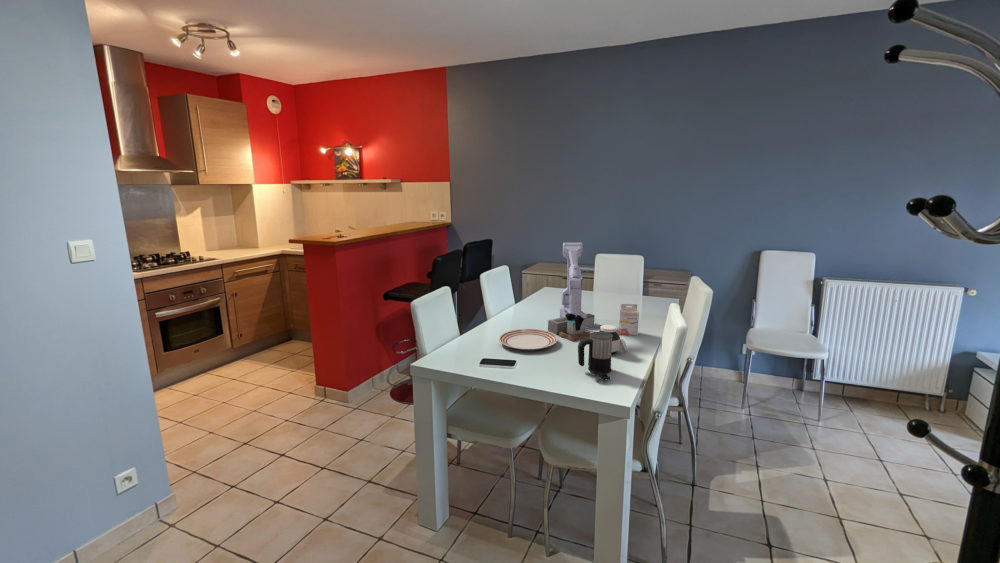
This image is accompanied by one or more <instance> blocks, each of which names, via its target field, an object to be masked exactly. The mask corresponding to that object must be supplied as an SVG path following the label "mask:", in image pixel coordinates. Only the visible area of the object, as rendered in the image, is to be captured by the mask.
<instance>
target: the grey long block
mask: <svg viewBox="0 0 1000 563" xmlns="http://www.w3.org/2000/svg"><path fill="white" fill-rule="evenodd" d="M567 321H568V320H567V318H566V317H562V318H560V317H558V318H554V319H553V318H552V319H548V320H547V323H548V324H547V331H548V332H551V333H553V334H554V335H556V336H559V332H561V331H566V330H567Z"/></svg>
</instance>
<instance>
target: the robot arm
mask: <svg viewBox="0 0 1000 563" xmlns="http://www.w3.org/2000/svg"><path fill="white" fill-rule="evenodd" d="M583 248H584V247H583V243H582V242H581V241H580V242H563V243H562V256H563V258H566V260H567V263H566V264H567V266H566V269H567V275H566V276H567V277H566V278H567V279H566V288H564V289H562V292H561V296H560V297H561V298H560V300H561V306H560V307H559V318H562V317H566V318H567V320H568V321H570V320H575V327H576V331H578V330H580V328H581V325H582V322H583V320H584V319H585V318H587V314H588V313H586V312H584V311H582V293H583V291H582V290H583V287H584V279H583V276H582V271H581V266H579V258H581V257H582V256H581V255H582V254H583V251H584V250H583Z"/></svg>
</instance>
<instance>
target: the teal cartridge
mask: <svg viewBox="0 0 1000 563" xmlns="http://www.w3.org/2000/svg"><path fill="white" fill-rule="evenodd" d="M583 326H584V321H583V322H582V325H581V328H580V330H578V331H576V327H575V320H570V321H567V333H569V334H571V335H574V334H579V333H583V330H584V328H583Z"/></svg>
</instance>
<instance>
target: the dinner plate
mask: <svg viewBox="0 0 1000 563" xmlns="http://www.w3.org/2000/svg"><path fill="white" fill-rule="evenodd" d="M498 341H499V342H500V343H501V344H502V345H504V346H505V347H508V348H512V349H516V350H521V351H537V350H543V349H546V348H549V347H551V346H553V345H555V344H556V343H557V342H558V335H555V334H553V333H551V332H548V330H545V329H544V330H543V329H538V328H537V329H536V328H519V329H512V330H508V331H505V332H504V333H502V334H501V335H500V336H499V337H498Z"/></svg>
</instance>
